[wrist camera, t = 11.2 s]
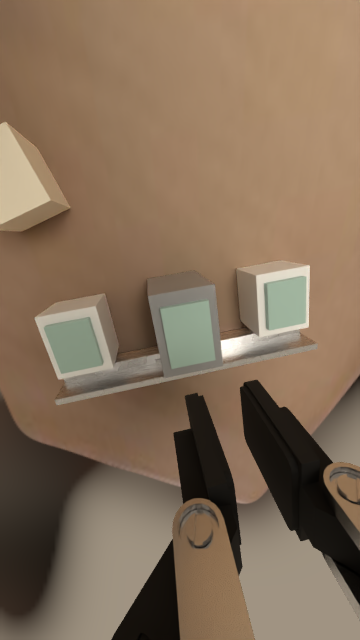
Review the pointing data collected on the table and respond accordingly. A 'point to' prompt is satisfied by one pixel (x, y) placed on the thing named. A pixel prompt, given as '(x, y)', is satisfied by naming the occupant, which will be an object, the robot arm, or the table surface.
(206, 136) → the table surface
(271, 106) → the table surface
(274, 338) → the rail
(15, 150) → the cream cube
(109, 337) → the mounted modules
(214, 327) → the block
